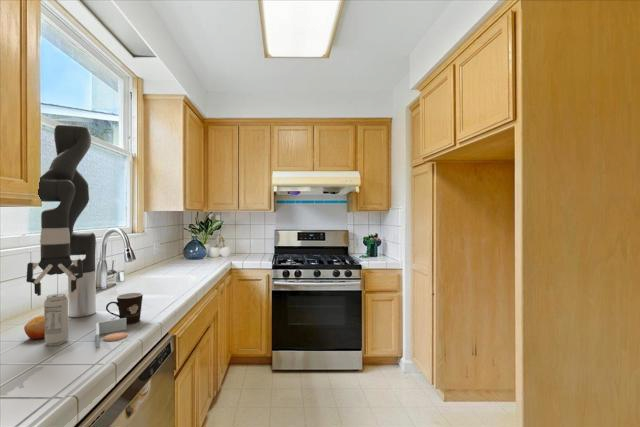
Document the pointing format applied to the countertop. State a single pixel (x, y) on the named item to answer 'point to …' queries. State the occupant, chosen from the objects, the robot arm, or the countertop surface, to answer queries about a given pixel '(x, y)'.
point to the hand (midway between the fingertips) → (56, 293)
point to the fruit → (35, 328)
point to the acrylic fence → (109, 327)
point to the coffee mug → (128, 307)
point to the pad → (115, 336)
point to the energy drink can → (56, 319)
